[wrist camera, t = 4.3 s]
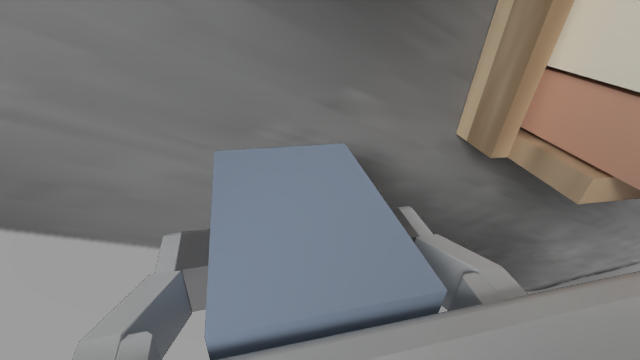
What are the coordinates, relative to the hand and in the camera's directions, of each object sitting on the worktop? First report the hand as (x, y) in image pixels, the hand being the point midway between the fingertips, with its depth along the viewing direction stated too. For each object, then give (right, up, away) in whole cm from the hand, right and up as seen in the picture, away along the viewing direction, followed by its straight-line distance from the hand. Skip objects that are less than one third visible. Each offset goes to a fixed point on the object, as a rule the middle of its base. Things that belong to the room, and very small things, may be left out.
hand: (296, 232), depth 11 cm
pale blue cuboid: (-1, +2, +3) cm, 3 cm away
